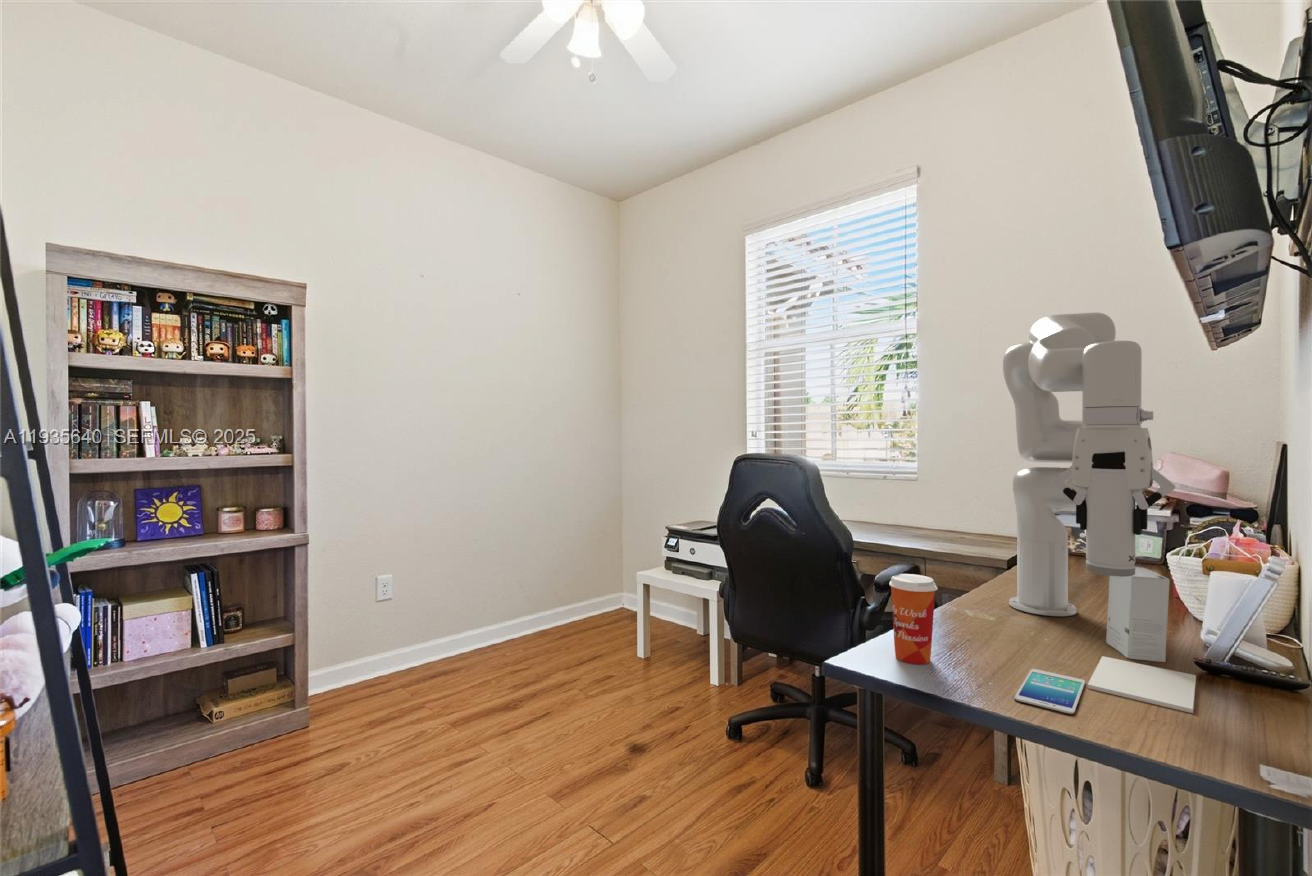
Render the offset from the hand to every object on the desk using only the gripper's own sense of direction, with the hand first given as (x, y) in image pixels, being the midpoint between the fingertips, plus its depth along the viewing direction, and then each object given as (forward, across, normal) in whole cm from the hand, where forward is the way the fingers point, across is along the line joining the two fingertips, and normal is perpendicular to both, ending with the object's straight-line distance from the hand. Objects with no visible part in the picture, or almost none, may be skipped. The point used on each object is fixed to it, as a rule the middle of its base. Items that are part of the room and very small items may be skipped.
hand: (1110, 530), depth 95 cm
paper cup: (+24, +26, +14) cm, 38 cm away
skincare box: (+24, -2, -16) cm, 29 cm away
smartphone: (+24, +6, +13) cm, 28 cm away
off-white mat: (+24, -4, 0) cm, 24 cm away
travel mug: (+7, 0, 0) cm, 7 cm away
